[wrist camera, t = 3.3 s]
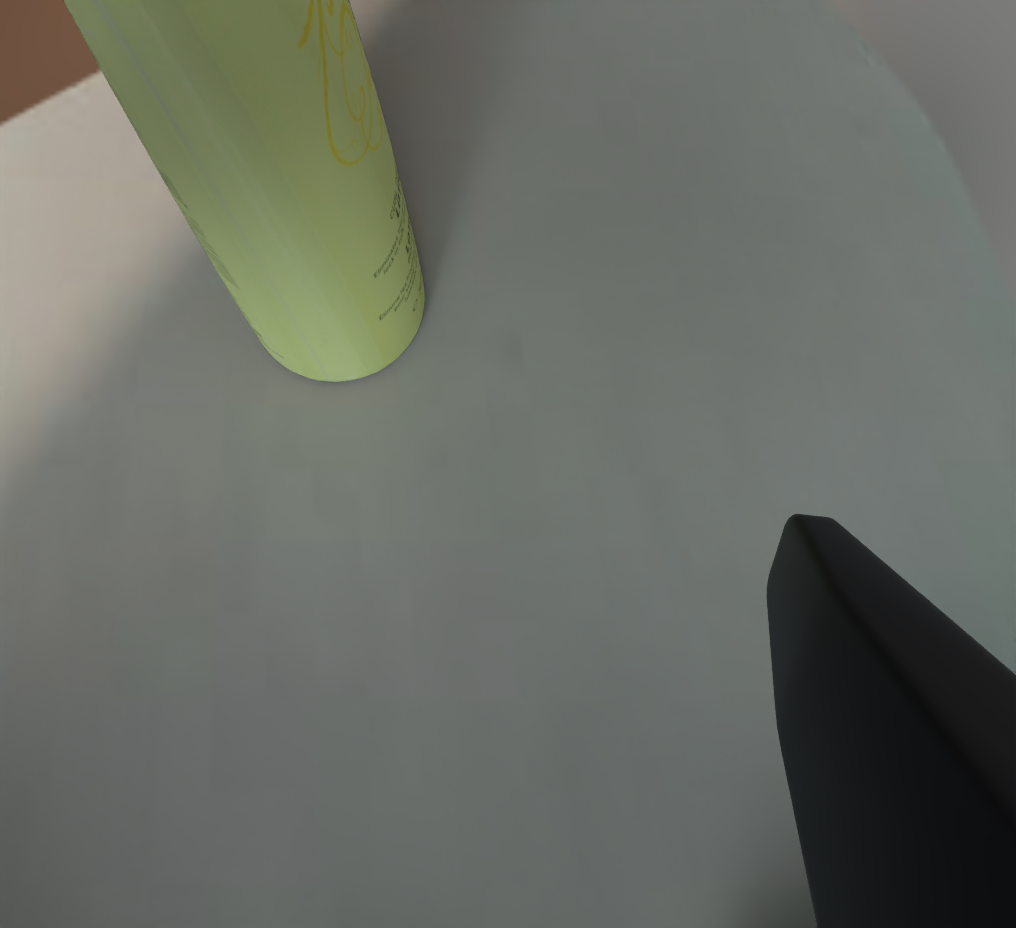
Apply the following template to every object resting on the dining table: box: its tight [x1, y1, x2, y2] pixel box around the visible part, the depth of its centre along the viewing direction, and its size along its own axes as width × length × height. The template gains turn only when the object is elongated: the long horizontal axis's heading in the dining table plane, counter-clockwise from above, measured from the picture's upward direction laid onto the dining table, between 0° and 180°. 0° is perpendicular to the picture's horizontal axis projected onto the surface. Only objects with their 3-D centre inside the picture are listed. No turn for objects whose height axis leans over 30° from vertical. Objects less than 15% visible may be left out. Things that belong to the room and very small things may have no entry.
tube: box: [64, 0, 425, 382], centre depth 16 cm, size 6×5×20 cm
